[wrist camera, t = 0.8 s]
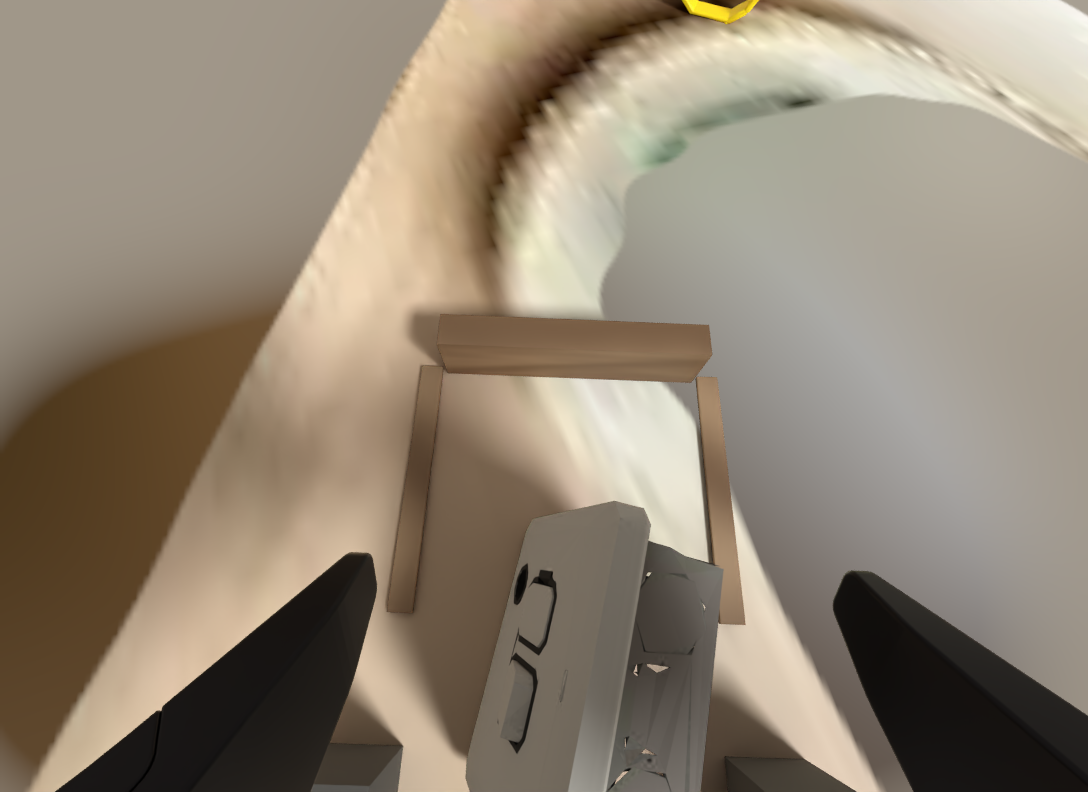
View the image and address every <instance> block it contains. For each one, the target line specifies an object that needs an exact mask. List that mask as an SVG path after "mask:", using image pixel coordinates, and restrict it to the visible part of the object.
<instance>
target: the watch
mask: <svg viewBox="0 0 1088 792" xmlns="http://www.w3.org/2000/svg"><path fill="white" fill-rule="evenodd" d="M682 2H683V3H684V5H685V7H686V8H687V10H688V12H689V13H690V14H693V15H697V16H701V17H705V18H709V19H714V20H716V21H720V22H724V23H725V24H727V23H728V24H730V23H732V22H734V21H735V20H737V19H739V18H741V17H743V16H745V15H746V14H747V13H748V12H750V10H751V9H752V8H753V7H754V5H755V4H756V3H757V2H758V0H747V1H745V2H743V3H741V4H739V5H738V6H736V7H734V8H732V9H730V8H725V7H721V6H717V5H713V4H709V3H704V2H700V1H698V0H682Z"/></svg>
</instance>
